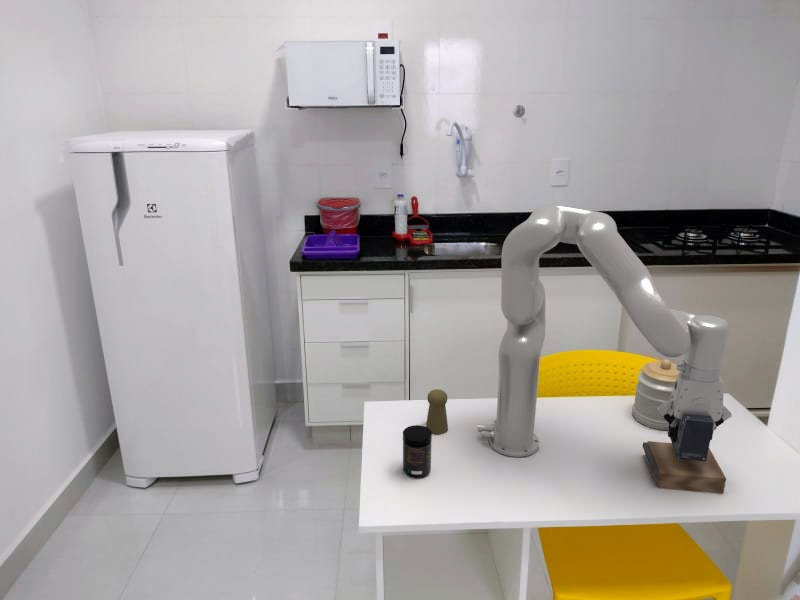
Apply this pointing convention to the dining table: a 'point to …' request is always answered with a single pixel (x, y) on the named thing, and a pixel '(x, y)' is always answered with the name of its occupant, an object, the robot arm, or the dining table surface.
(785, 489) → the dining table surface
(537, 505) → the dining table surface
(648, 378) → the jar
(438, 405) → the cork
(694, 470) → the dock
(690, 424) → the small box
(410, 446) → the supplement container
